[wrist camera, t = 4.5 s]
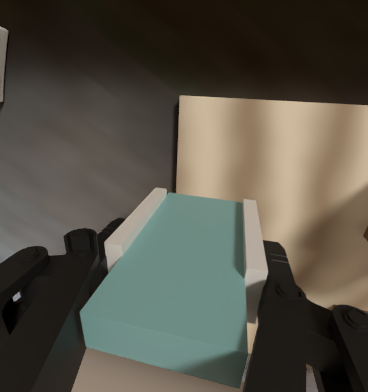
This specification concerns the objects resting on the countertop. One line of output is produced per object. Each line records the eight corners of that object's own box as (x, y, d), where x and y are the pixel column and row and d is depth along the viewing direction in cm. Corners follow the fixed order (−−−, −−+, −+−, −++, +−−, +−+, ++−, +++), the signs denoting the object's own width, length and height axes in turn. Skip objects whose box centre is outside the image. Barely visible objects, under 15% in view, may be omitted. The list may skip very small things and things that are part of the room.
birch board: (172, 325, 33) (170, 332, 32) (183, 95, 21) (179, 95, 20) (379, 377, 28) (385, 388, 27) (548, 115, 16) (571, 116, 15)
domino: (238, 223, 16) (239, 388, 7) (168, 212, 17) (85, 347, 8) (242, 202, 15) (248, 353, 6) (169, 192, 16) (79, 312, 7)
